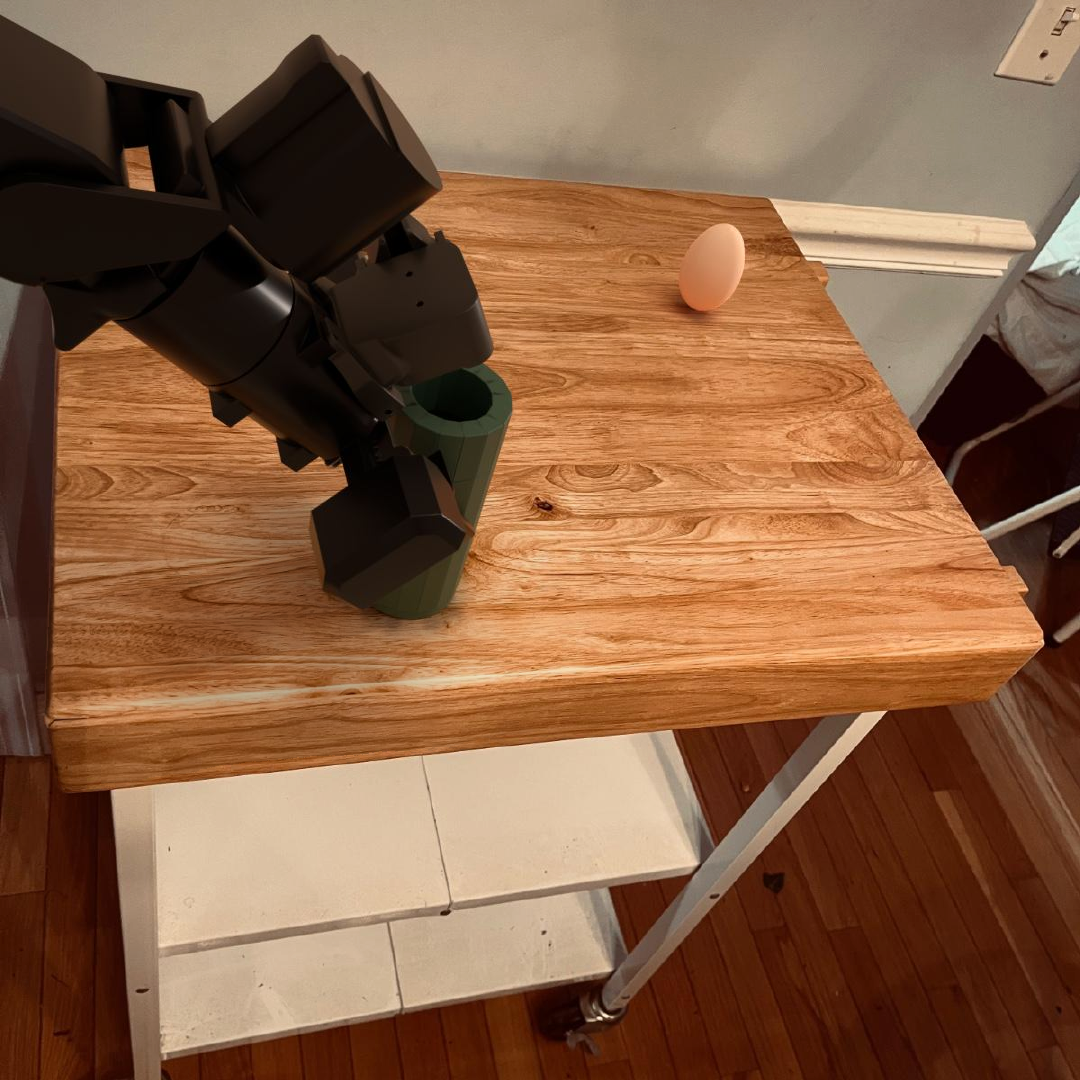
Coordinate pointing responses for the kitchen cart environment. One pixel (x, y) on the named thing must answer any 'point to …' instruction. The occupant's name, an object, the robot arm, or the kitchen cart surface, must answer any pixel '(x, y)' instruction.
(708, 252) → the egg
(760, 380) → the kitchen cart surface
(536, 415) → the kitchen cart surface
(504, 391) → the hollow cylinder
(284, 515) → the kitchen cart surface
